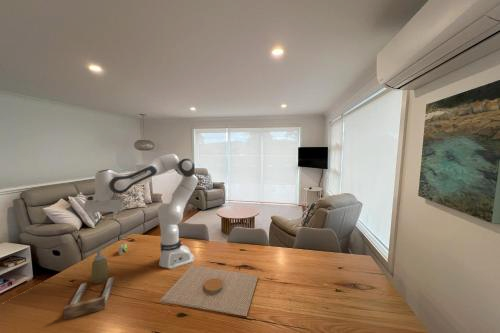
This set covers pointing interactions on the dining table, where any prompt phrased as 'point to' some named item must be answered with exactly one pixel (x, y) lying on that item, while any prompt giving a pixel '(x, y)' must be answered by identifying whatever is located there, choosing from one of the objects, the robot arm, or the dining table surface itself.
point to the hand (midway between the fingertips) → (104, 218)
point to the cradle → (87, 302)
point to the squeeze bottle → (99, 268)
